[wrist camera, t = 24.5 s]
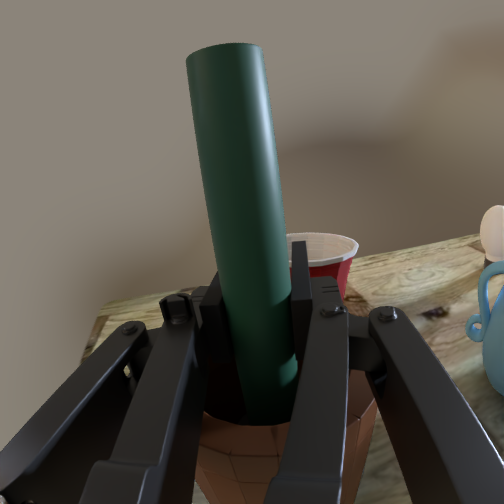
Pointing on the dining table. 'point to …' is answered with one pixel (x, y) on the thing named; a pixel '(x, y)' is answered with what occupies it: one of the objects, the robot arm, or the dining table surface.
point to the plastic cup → (326, 255)
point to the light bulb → (493, 235)
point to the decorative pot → (490, 328)
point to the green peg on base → (246, 222)
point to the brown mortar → (267, 440)
